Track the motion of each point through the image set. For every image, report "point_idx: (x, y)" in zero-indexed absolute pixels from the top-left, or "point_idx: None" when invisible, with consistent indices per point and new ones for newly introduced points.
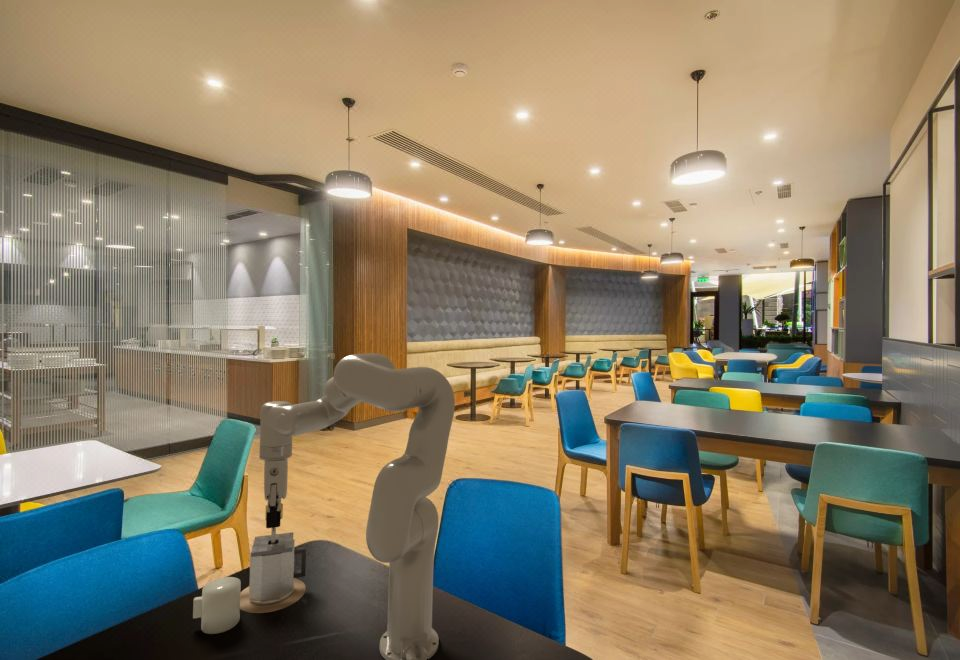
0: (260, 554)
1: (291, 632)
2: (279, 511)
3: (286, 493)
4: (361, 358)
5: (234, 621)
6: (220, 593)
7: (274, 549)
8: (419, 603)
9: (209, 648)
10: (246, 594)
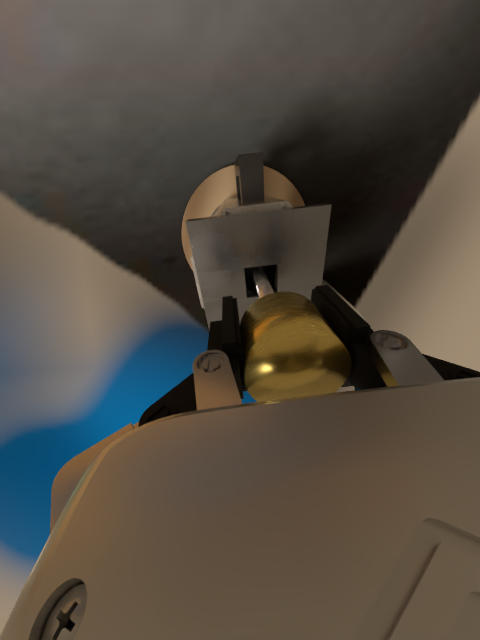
0: None
1: (380, 179)
2: (365, 329)
3: (459, 401)
4: None
5: (330, 285)
6: None
7: (320, 268)
8: None
9: (354, 300)
10: None
